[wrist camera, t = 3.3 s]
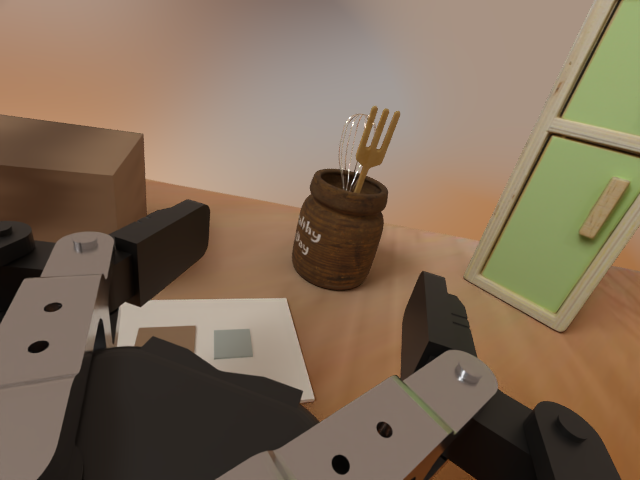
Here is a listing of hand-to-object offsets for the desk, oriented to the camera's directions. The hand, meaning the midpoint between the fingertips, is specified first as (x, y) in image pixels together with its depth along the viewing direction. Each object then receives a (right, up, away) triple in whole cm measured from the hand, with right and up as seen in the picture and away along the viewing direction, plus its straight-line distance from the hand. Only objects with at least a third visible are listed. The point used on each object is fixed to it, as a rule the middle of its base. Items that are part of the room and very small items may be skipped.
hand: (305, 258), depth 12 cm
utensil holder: (+1, -2, +13) cm, 13 cm away
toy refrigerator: (+17, -4, +16) cm, 24 cm away
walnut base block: (-15, 0, +8) cm, 17 cm away
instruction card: (-5, -5, +4) cm, 8 cm away
